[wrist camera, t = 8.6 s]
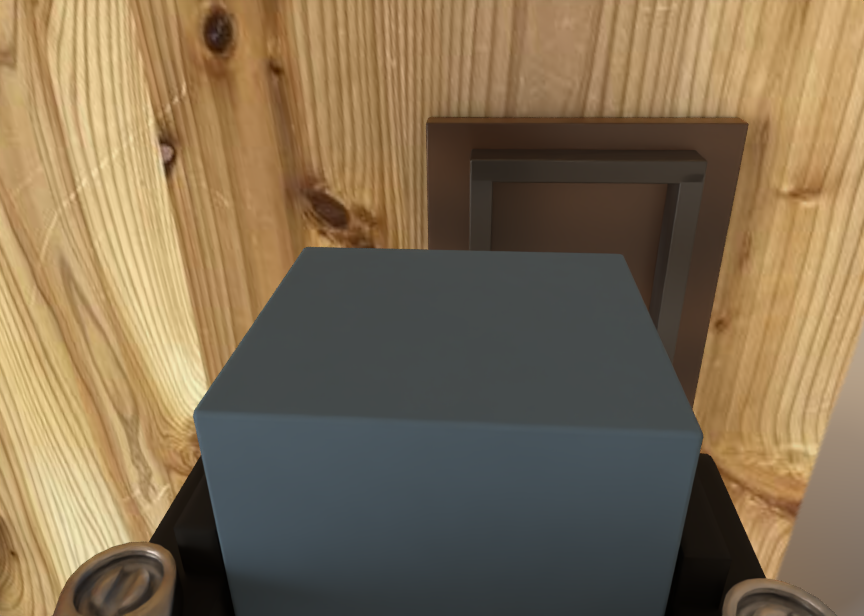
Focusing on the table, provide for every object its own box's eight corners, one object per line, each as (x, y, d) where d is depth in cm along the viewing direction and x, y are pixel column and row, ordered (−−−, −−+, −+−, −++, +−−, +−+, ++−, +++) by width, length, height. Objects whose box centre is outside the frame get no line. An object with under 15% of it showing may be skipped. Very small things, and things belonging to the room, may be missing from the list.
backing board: (428, 117, 24) (421, 132, 22) (739, 117, 23) (765, 133, 21) (435, 508, 33) (430, 548, 31) (662, 520, 32) (675, 561, 30)
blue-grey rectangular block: (581, 575, 13) (618, 833, 9) (336, 561, 14) (272, 803, 10) (624, 252, 10) (706, 434, 6) (303, 245, 11) (189, 413, 7)
